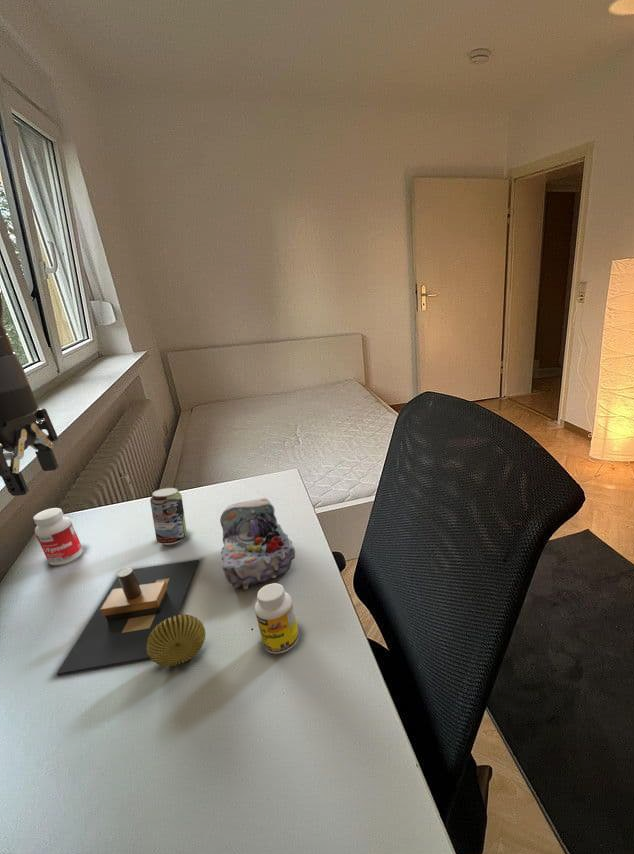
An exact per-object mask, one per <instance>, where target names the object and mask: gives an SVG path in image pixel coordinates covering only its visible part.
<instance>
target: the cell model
mask: <svg viewBox="0 0 634 854" xmlns="http://www.w3.org/2000/svg"><path fill="white" fill-rule="evenodd" d="M275 512H276V510H275V506H274V505H273V504H272V503H271V501H270V500H269V499H268V498H266V497H262V498H256V499H251V500H247V501H242V502H236V503H233V504H229V505H228V506H227V507H225V509H224V510H223V512H222V513H221V515H220V518H219V522H220V526H221V528H222V543H223V546H222V547H221V552H220V553H221V562H222V565H221V567H222V570H223V571H224V576H225V579H226V581H227V582H228V583H229V585H231V587H232V588H234V589H237V588H240V587H242V589H244V590H248V588H249V587H250V586H254V585H258V584H262V583H266V582H268V581H269V580H270V579H274V578H276V577H279V576H281V575H283V574H285V573H286V572H288V571H289V570H290V568H291V567H292V566H291V565H292V561H293V560H294V559H295V558H296V550H295V547H294V546H293V541H292V540H291V539H290V538H289V537H288V534H286V532H284V529H283V528H282V526H281V524H279V523H278V519H277V517H276V514H275Z"/></svg>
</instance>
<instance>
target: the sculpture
mask: <svg viewBox="0 0 634 854" xmlns="http://www.w3.org/2000/svg"><path fill="white" fill-rule="evenodd" d="M168 619H169V620H168ZM168 619H165V620H164V621H162V622H160V623H159V624H158V625H157V626H156V627H155V628H154V629H153V630H152V632H151V633H150V636H149V637H148V641H147V653H148V655H149V657H150V659H149V660H151V661H152V662H154V663H155V664H157V665H160V666H164V667H172V666H177V665H181V663H182V664H185V662H188V661H190V660H191V659H192V658H194V657H195V656H196V655H197V654H198V653H199V652H200V651H201V649H202V647H203V645H204V644H205V640H206V635H207V634H206V628H205V626H204V624H203V622H202V621H201V620H200V619H199V618H197V617H195V616H194V615H190V614H178V615H177V619H176V616H173V620H172V618H171V617H169V618H168Z"/></svg>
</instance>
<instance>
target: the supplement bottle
mask: <svg viewBox="0 0 634 854" xmlns="http://www.w3.org/2000/svg"><path fill="white" fill-rule="evenodd" d="M256 597H257V601H256V603H255V604H254V611H255V612H254V613H255V617H256V621H257V626H258V629H259V633H260V637H261V641H262V644H263V648H264V649H265V650H266V651H267V652H268V653H271V654H282V653H285V652H288V651H289V650H291V649H293V648H294V647H295V645H296V644H297V642H298V640H299V628H298V623H297V618H296V613H295V607H294V603H293V598H292V597H291V595H290V594H289V593H288V592H286V591H285V588H284V586H283V585H282V584H280V583H276V582H272V583H268V584H265V585H264V586H262V587H261V588H260V589H259V590H258V592H257V595H256Z"/></svg>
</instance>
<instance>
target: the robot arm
mask: <svg viewBox="0 0 634 854" xmlns="http://www.w3.org/2000/svg"><path fill="white" fill-rule="evenodd" d="M43 430H44V431H43ZM45 431H46V432H47V433H45ZM58 438H59V437H58V434H57V431H56V429H55V427H54V425H53V422H52V420H51V418H50V415H49V413H48V411H47V409H46V408H39V405H38V403H37V400H36V398H35V395H34V392H33V390H32V387H31V385H30V382H29V380H28V377H27V375H26V372H25V369H24V367H23V365H22V363H21V362H20V360H19V358H18V356H17V354H16V352H15V350H14V346H13V344H12V342H11V339H10V337H9V334H8V331H7V330H6V327H5V324H4V308H3V298H2V289H1V288H0V477H1V479H2V481H3V483H4V486H5V487H6V489H7V493H9V494H10V495H11V496H13V497H18V496H25V495H26V494H28V493H29V492H30V489H29V487H28V485H27V482H26V480H25V478H24V476H23V473H22V471H20V463H21V460H22V459H24V457H25V455H24V454H25V450H27V449H28V448H29V447H31V448H32V449H33V450H35V451H34V453H35V455H36V458H37V460H38V463H39V466H40V467H41V470H42V471H44V472H49V471H51V472H52V471H56V470H57V469H58V468H59V464H58V462H57V458H56V456H55V454H54V451H53V448H54V442H57V441H58ZM4 451H5V453H4ZM7 461H10V462H9V463H10V464H8V462H7Z"/></svg>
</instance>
